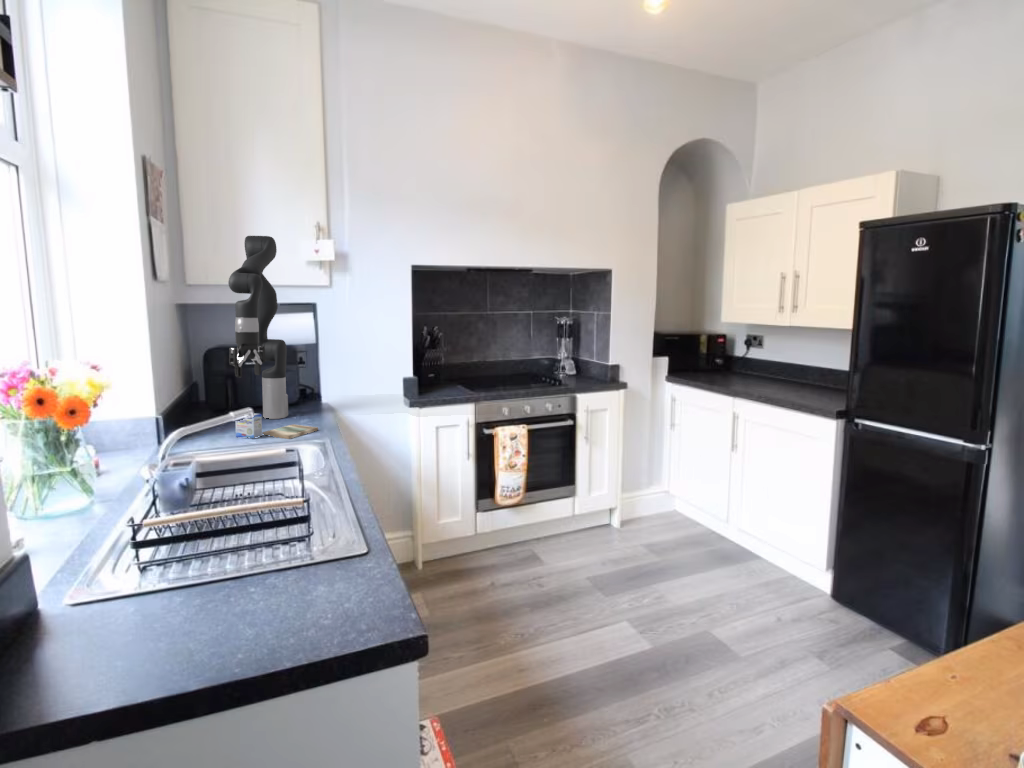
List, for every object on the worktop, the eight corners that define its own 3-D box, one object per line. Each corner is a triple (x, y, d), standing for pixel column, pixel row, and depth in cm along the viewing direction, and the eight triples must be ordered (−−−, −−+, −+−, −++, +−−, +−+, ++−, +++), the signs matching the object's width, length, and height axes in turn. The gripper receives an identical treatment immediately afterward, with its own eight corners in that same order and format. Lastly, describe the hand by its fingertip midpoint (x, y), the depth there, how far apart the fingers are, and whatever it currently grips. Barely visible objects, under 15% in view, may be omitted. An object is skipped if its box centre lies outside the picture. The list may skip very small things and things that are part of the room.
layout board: (293, 427, 219) (293, 423, 219) (318, 430, 215) (318, 426, 215) (262, 435, 204) (262, 431, 204) (288, 439, 200) (288, 435, 200)
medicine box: (235, 437, 200) (234, 413, 199) (244, 434, 204) (243, 411, 203) (254, 439, 198) (253, 415, 197) (262, 436, 202) (261, 413, 201)
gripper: (254, 329, 204) (255, 373, 206) (222, 330, 191) (223, 377, 193) (270, 330, 201) (271, 375, 203) (239, 331, 188) (240, 378, 190)
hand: (248, 376), depth 198 cm, fingers open, 8 cm apart
